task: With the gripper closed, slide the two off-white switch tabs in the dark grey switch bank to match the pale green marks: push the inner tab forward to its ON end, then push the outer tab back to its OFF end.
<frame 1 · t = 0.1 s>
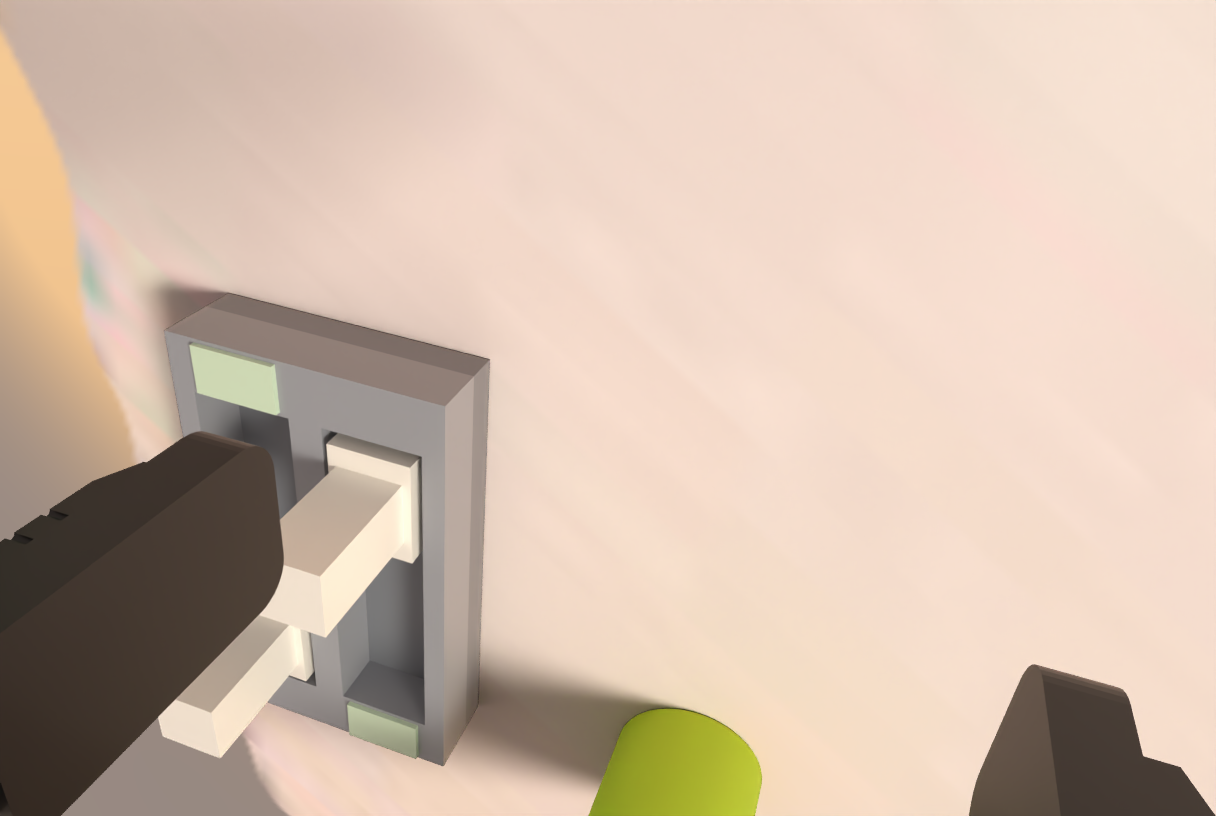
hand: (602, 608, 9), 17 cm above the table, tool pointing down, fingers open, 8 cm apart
switch bank: (365, 519, 35), on the table
soap dispenser: (683, 764, 37), on the table
tab B: (247, 657, 34), point 5 cm above the table, slide at 8.0 cm
tab A: (348, 528, 29), point 5 cm above the table, slide at 0.0 cm
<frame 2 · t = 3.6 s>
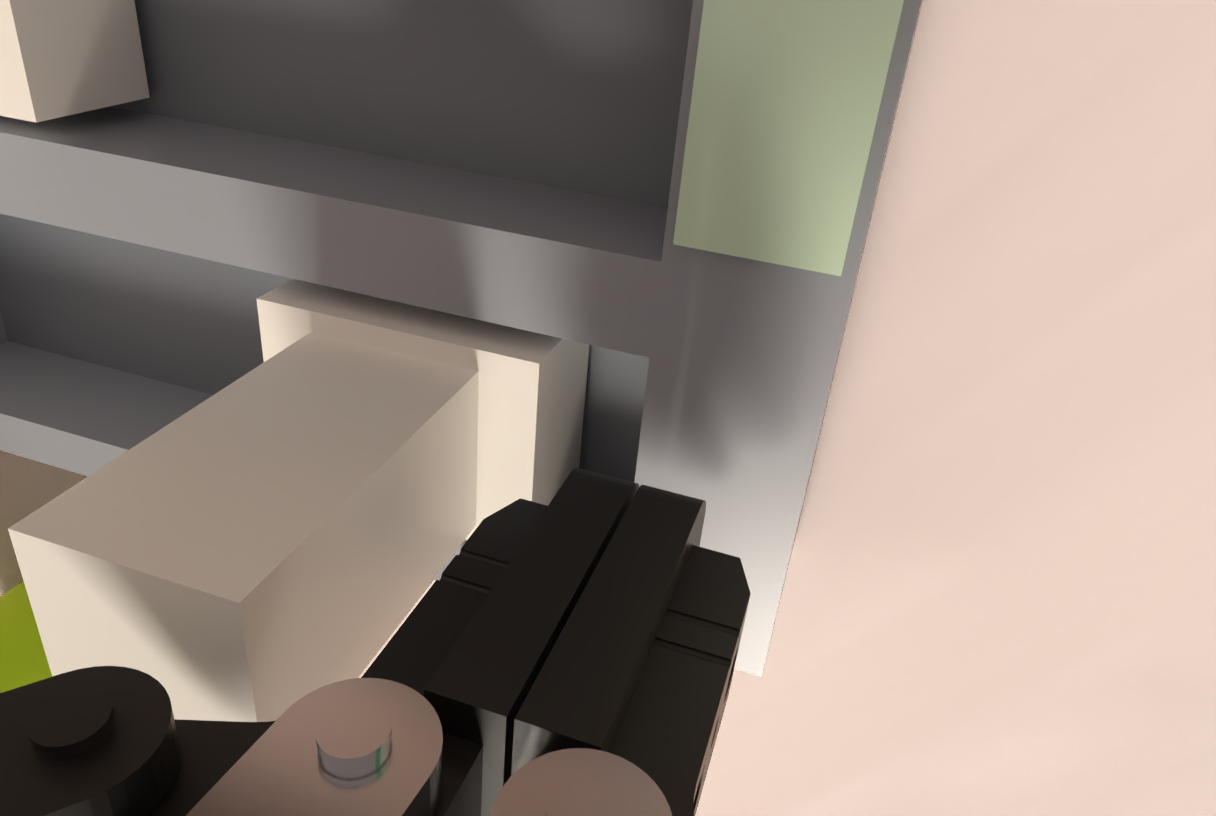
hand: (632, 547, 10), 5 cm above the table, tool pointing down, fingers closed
switch bank: (326, 159, 15), on the table
soap dispenser: (97, 647, 24), on the table
tab A: (342, 480, 11), point 5 cm above the table, slide at 0.9 cm, touching gripper
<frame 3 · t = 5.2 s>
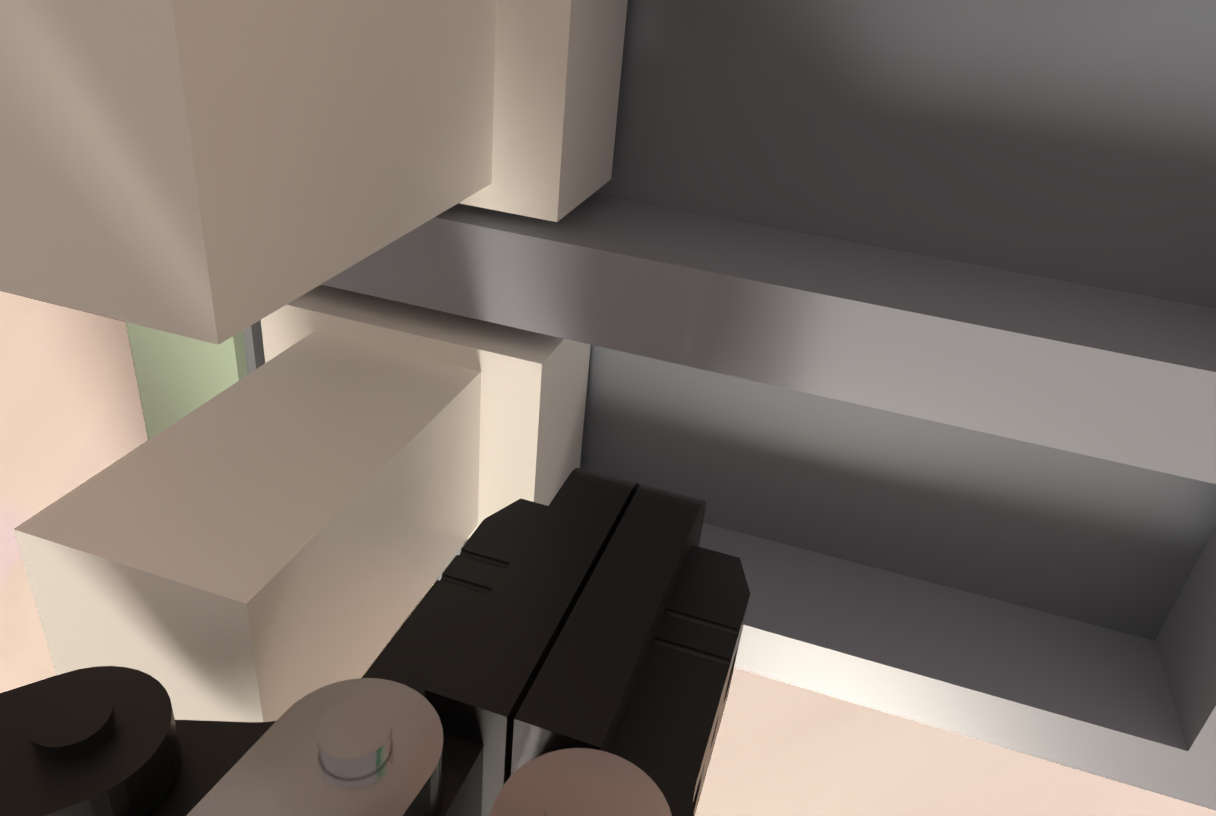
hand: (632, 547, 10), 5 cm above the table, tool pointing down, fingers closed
switch bank: (767, 241, 13), on the table
tab B: (324, 71, 9), point 5 cm above the table, slide at 8.0 cm
tab A: (344, 480, 11), point 5 cm above the table, slide at 8.1 cm, touching gripper
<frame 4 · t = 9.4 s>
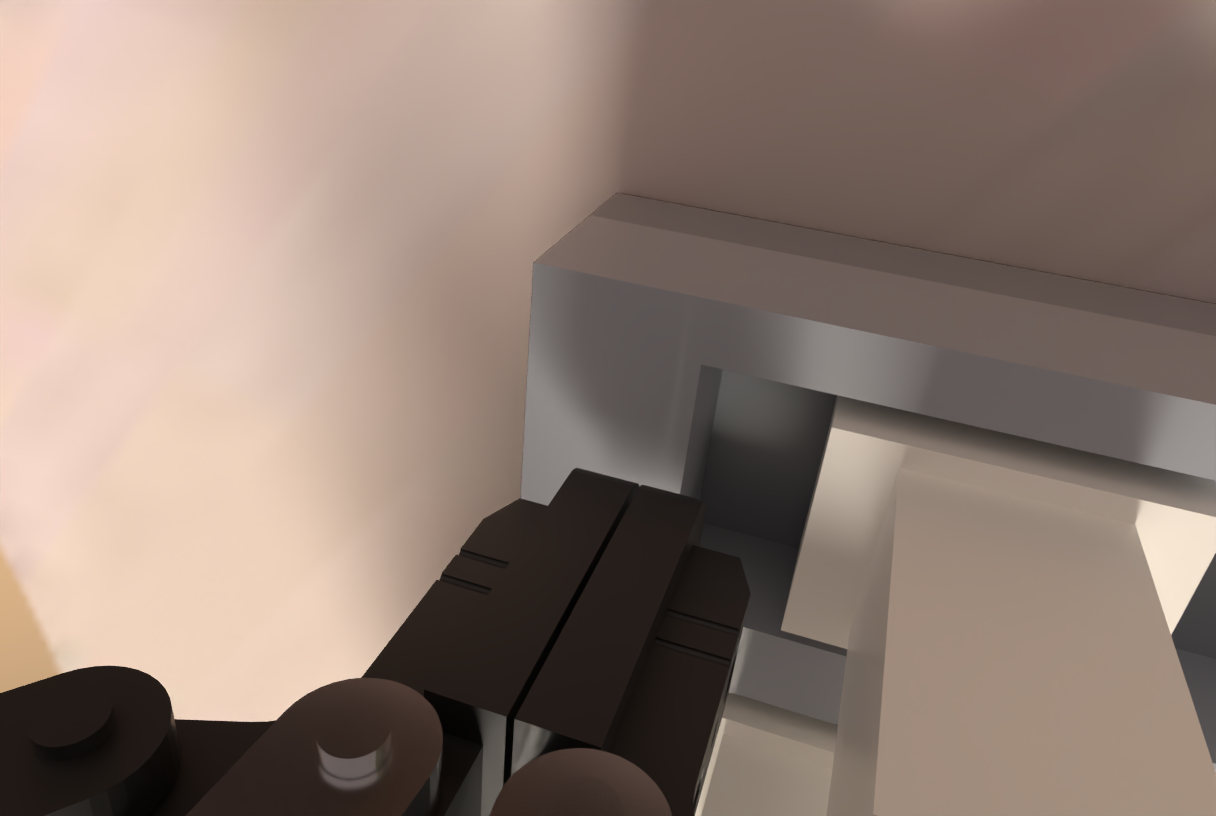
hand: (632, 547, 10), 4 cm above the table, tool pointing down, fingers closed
switch bank: (1120, 618, 14), on the table
tab B: (985, 660, 9), point 5 cm above the table, slide at 6.8 cm, touching gripper
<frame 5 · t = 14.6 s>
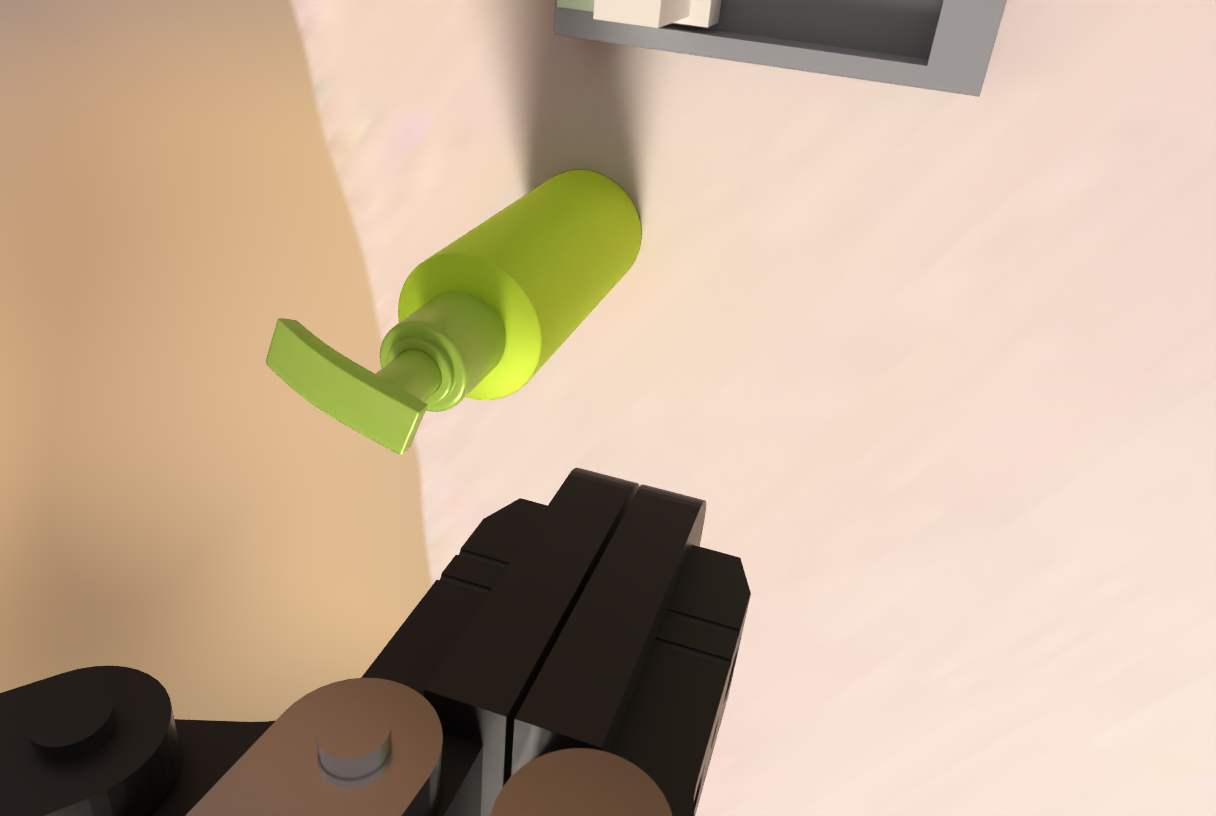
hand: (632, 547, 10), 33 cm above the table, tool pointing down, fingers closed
soap dispenser: (576, 223, 45), on the table
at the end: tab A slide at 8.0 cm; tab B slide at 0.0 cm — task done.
